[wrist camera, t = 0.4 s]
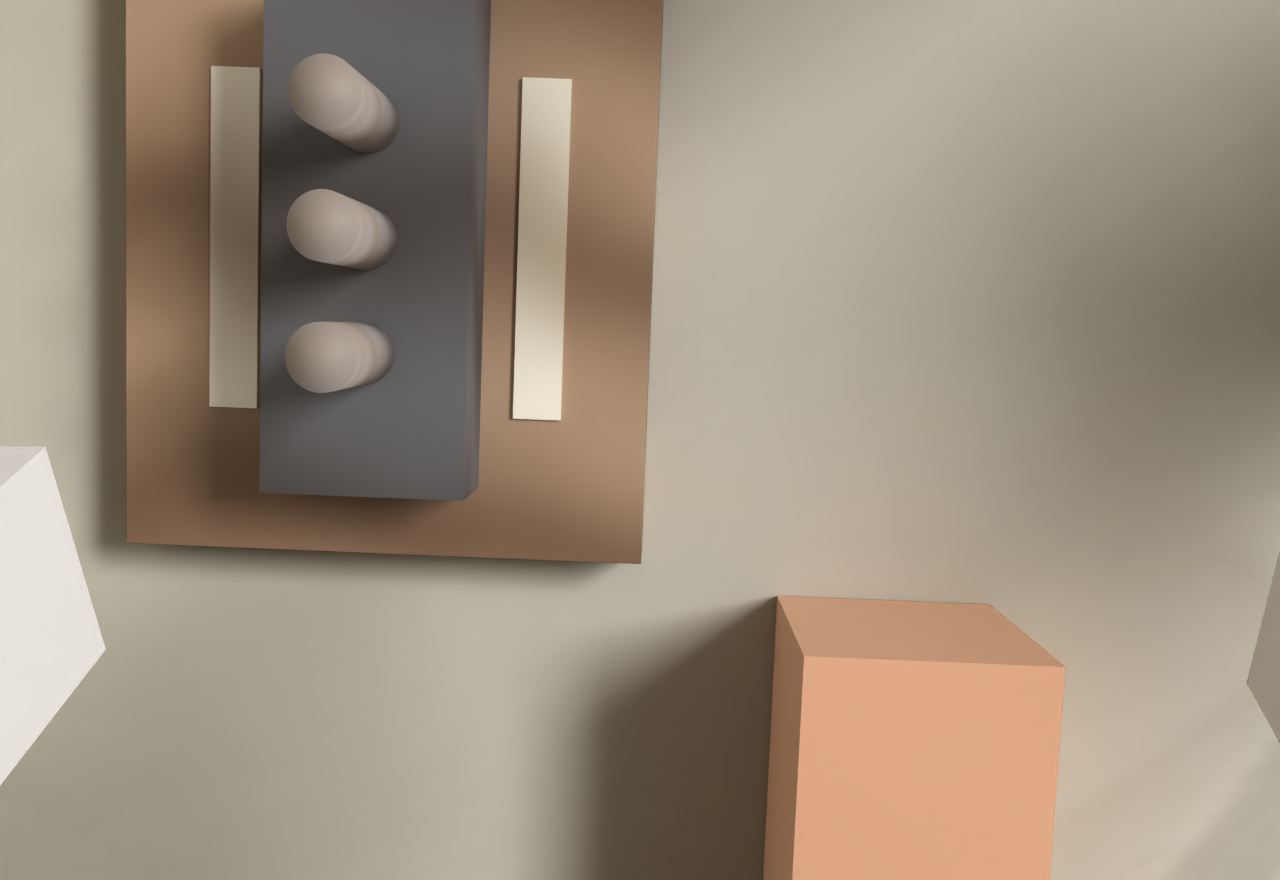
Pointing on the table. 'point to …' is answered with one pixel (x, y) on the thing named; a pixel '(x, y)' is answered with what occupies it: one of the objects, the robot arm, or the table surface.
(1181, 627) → the table surface
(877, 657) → the block
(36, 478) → the robot arm
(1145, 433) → the table surface
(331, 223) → the pin board
